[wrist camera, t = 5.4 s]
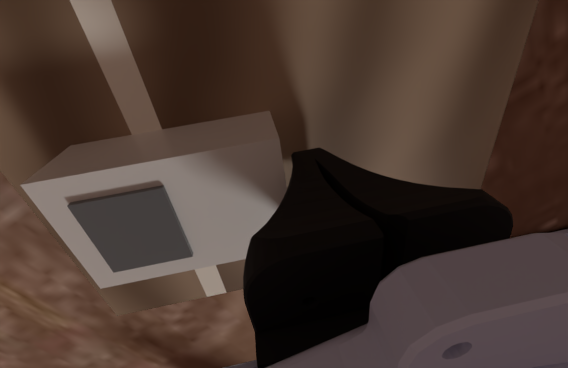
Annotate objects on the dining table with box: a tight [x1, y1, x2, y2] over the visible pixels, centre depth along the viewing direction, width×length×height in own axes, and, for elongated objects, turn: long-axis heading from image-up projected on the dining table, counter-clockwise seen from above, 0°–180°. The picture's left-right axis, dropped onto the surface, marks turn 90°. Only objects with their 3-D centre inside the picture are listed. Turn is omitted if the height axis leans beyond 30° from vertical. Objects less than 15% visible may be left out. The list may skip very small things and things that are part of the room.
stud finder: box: [20, 111, 287, 289], centre depth 11 cm, size 8×5×3 cm, turn 97°
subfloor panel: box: [0, 0, 539, 316], centre depth 13 cm, size 22×16×1 cm
